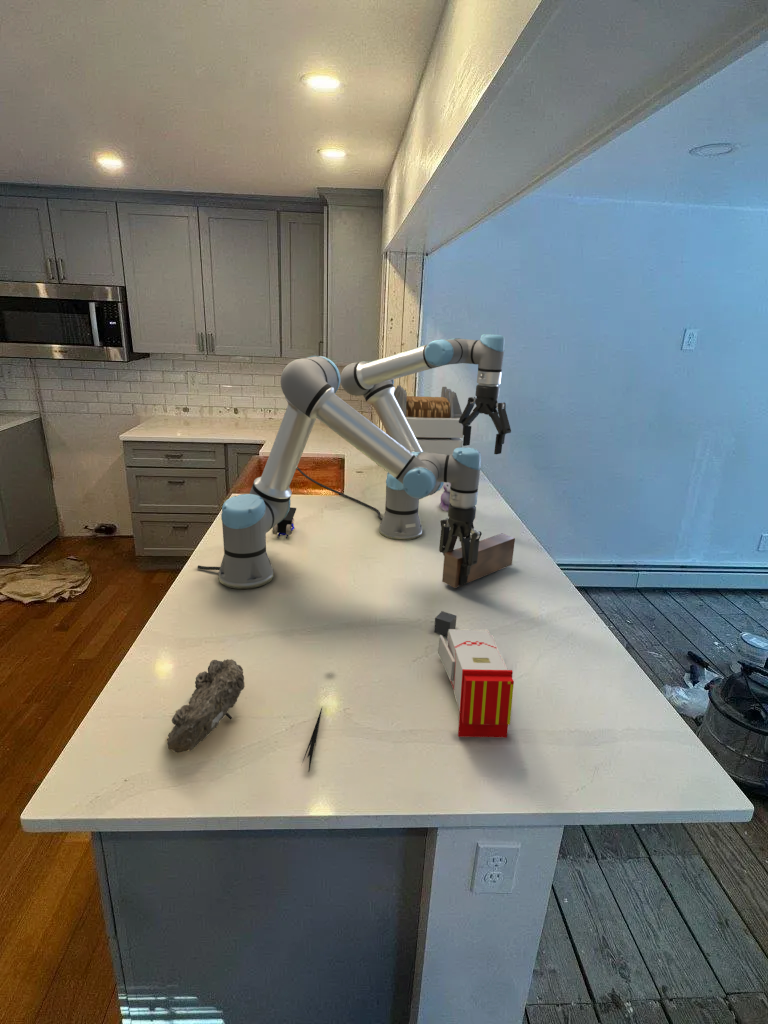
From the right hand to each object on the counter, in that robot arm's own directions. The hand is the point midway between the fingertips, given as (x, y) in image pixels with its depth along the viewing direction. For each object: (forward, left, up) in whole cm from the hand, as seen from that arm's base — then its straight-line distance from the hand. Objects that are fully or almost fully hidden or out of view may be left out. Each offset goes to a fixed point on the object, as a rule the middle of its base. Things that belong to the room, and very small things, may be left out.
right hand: (481, 449), depth 189 cm
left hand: (+22, -33, -30) cm, 50 cm away
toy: (+57, -66, -32) cm, 93 cm away
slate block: (+37, -53, -32) cm, 72 cm away
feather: (+45, -96, -32) cm, 110 cm away
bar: (+22, -23, -30) cm, 44 cm away
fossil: (+32, -112, -32) cm, 120 cm away
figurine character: (-40, -52, -32) cm, 73 cm away
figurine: (-26, +16, -32) cm, 44 cm away
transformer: (-70, +41, -32) cm, 87 cm away
